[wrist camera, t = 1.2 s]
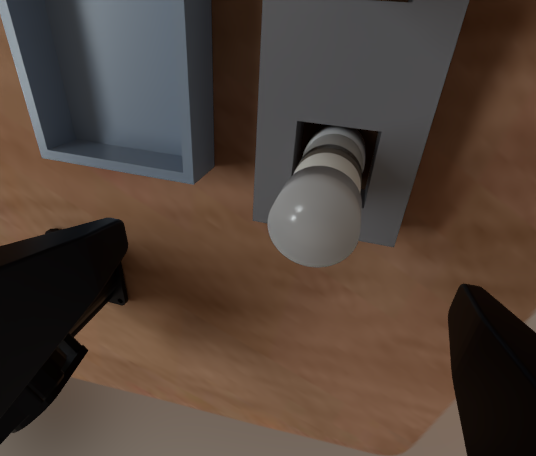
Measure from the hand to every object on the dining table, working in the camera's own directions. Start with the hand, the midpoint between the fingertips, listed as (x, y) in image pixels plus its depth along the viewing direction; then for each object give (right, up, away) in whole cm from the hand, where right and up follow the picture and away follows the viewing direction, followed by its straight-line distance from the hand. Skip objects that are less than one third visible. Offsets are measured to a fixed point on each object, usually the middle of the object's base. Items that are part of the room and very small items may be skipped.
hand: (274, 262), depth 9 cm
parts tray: (-8, +12, +10) cm, 18 cm away
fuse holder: (+4, +9, +8) cm, 13 cm away
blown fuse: (+4, +5, +10) cm, 12 cm away
